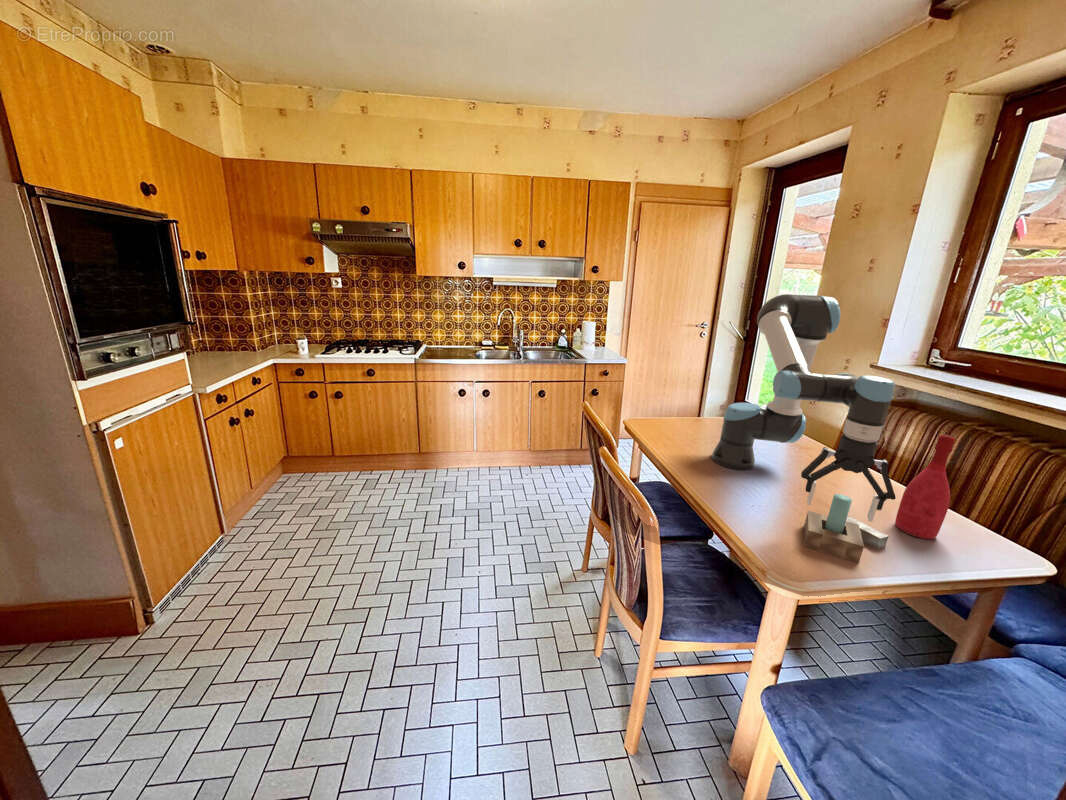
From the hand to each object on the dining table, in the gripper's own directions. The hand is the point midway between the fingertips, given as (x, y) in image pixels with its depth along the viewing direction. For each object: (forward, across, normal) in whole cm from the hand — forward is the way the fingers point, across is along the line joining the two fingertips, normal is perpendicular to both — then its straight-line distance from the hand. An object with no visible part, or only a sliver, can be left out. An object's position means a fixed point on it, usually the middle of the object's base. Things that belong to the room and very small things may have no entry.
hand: (838, 510), depth 114 cm
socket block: (+10, 0, 0) cm, 10 cm away
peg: (+10, 0, 0) cm, 10 cm away
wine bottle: (+10, +22, +23) cm, 33 cm away
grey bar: (+10, +8, +9) cm, 16 cm away
